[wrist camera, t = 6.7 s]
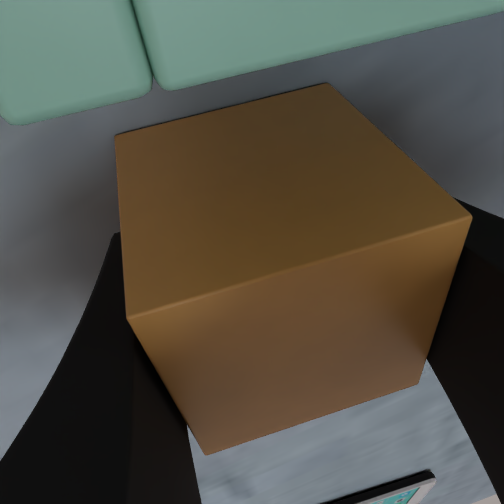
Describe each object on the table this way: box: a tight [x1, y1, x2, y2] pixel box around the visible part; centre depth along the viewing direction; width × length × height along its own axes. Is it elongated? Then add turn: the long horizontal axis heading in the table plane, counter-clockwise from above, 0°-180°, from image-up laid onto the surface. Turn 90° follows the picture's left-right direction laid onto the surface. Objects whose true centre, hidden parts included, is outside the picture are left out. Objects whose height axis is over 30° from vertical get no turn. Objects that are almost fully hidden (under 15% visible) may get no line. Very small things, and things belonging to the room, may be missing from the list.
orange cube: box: [114, 83, 472, 455], centre depth 9 cm, size 5×5×5 cm
